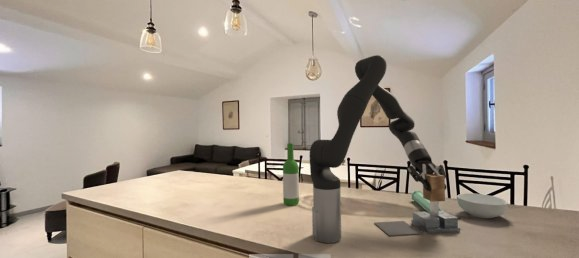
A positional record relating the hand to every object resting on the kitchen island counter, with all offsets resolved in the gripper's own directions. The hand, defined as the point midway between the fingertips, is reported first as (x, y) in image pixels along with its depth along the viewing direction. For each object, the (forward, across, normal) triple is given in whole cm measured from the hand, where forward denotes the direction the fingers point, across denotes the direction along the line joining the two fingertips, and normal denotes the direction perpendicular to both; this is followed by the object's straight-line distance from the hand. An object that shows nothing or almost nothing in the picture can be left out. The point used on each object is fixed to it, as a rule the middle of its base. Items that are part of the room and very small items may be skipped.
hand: (437, 189), depth 93 cm
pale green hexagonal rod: (-6, +11, +27) cm, 29 cm away
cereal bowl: (+2, +28, +19) cm, 34 cm away
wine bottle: (-18, -49, +39) cm, 65 cm away
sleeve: (+1, 0, +4) cm, 4 cm away
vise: (+9, +2, +11) cm, 15 cm away
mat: (+8, -14, +12) cm, 20 cm away
